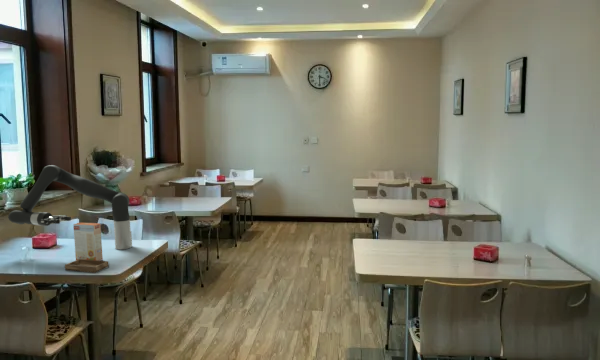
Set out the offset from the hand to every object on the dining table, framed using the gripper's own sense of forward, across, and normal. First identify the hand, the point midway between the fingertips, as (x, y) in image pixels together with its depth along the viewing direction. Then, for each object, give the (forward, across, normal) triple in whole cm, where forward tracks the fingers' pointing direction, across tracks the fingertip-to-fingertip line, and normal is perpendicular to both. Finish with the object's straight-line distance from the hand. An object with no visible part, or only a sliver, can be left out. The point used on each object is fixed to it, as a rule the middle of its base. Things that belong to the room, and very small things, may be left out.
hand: (65, 220), depth 283 cm
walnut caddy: (+25, -14, +22) cm, 36 cm away
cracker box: (+15, 0, +22) cm, 27 cm away
